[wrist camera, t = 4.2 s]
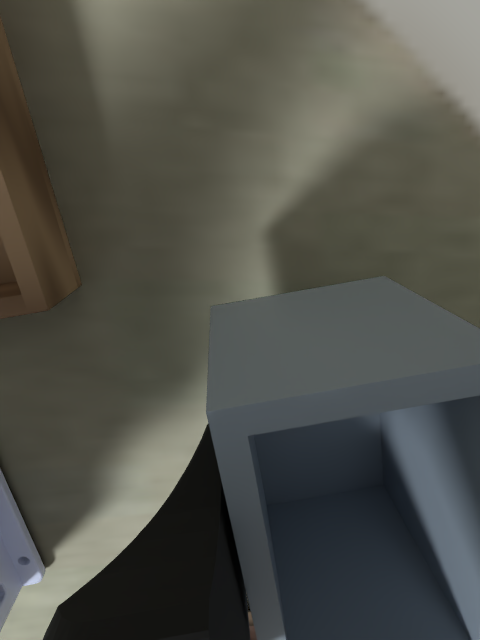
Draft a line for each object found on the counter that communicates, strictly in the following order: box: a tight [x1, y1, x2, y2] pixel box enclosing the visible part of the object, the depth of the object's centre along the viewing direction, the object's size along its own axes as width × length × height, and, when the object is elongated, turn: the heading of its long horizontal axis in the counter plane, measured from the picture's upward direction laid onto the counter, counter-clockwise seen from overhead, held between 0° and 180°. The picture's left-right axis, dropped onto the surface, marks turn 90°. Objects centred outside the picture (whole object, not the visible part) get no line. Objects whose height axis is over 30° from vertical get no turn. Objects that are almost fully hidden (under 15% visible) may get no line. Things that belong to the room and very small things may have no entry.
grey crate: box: [206, 276, 480, 640], centre depth 11 cm, size 8×5×6 cm
